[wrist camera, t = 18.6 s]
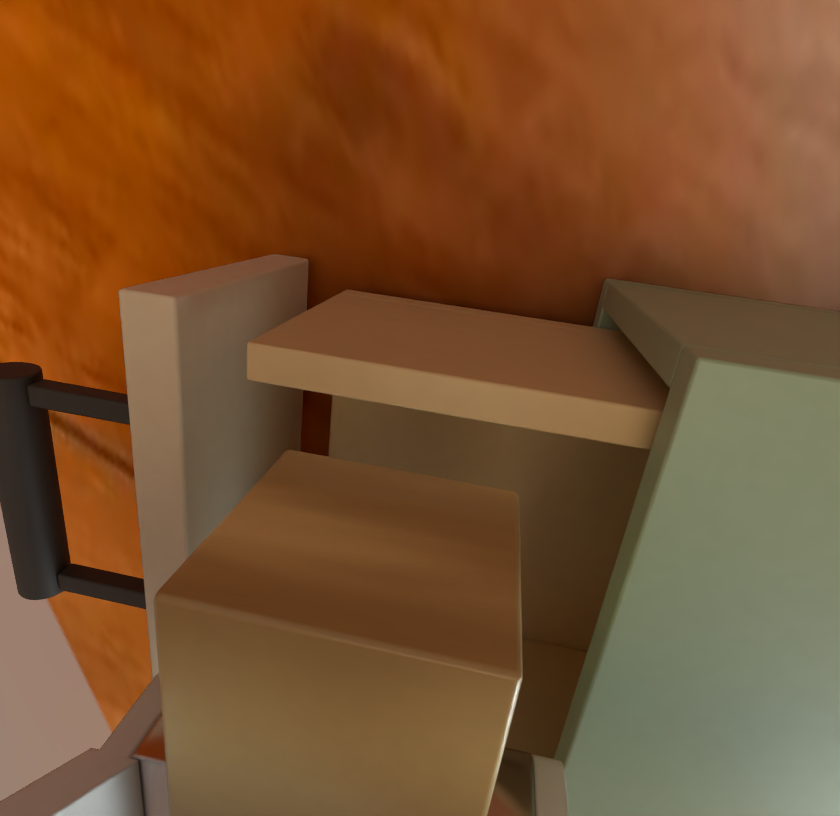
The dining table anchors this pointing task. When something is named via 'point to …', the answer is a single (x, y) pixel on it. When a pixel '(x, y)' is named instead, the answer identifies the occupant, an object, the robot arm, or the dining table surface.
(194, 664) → the tan and red block
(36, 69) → the dining table surface
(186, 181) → the dining table surface
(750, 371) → the cabinet
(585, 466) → the drawer
